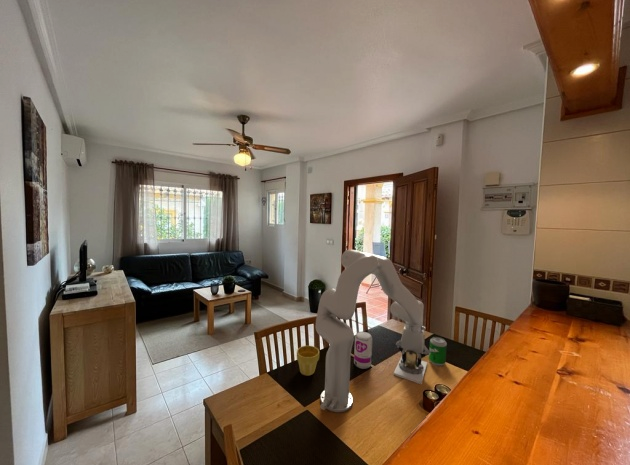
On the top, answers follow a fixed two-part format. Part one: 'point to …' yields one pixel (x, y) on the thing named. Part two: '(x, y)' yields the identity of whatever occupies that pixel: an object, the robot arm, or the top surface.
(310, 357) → the plant pot
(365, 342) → the supplement can
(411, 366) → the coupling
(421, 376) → the socket board
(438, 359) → the soda can
